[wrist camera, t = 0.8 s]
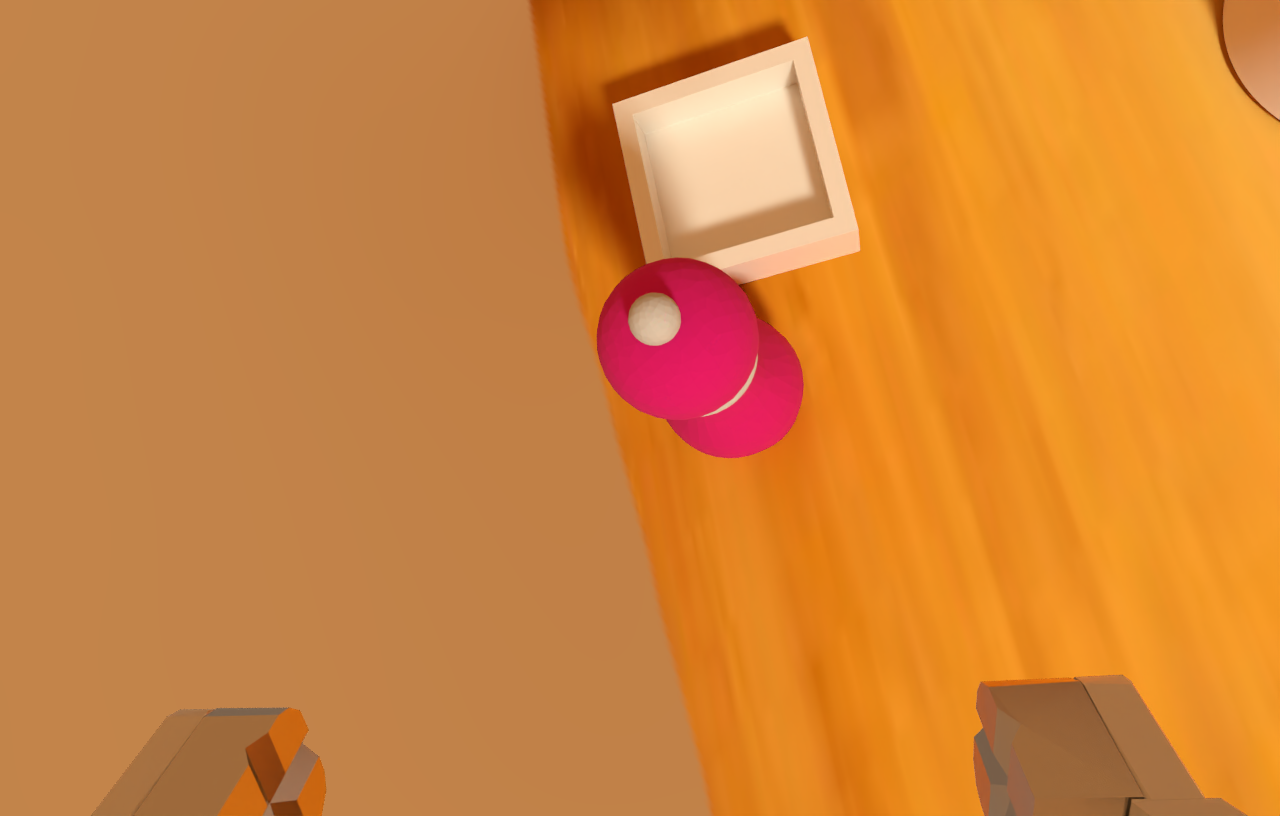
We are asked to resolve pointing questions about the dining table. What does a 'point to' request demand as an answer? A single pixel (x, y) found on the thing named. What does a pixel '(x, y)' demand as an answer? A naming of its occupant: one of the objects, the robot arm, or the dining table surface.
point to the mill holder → (739, 167)
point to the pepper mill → (699, 358)
